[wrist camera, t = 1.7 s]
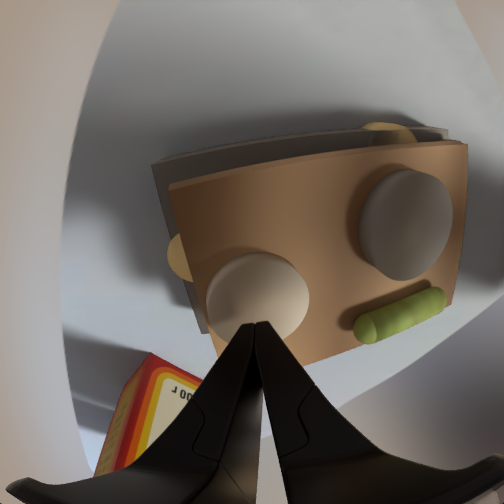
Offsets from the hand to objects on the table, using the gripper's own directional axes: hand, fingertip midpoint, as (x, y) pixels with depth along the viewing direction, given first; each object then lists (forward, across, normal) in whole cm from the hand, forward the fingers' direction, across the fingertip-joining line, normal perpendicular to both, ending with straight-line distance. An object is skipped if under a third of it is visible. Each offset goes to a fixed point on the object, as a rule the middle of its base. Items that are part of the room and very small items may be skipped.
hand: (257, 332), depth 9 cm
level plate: (+5, -4, 0) cm, 6 cm away
